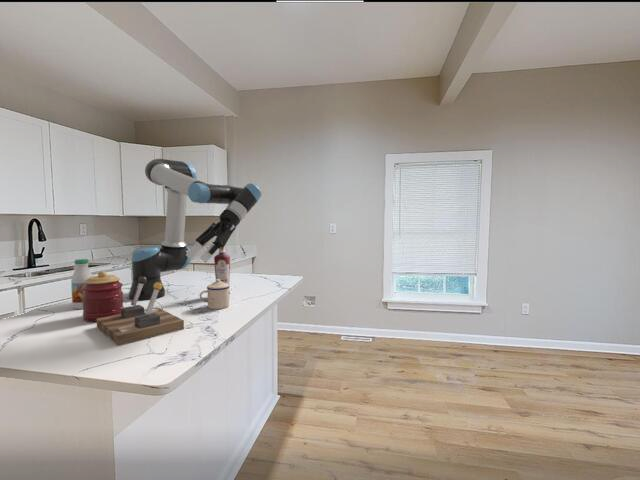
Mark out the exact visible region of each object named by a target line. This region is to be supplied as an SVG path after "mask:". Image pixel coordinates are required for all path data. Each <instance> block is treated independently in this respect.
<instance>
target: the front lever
mask: <svg viewBox="0 0 640 480" xmlns="http://www.w3.org/2000/svg"><path fill="white" fill-rule="evenodd" d="M162 284H163V282H162V283H160V282H156V283H155V284H154V285H153V288H154V291H153V294H152V297H151V299H149V301H148V305H147V307H146V309H147V310H146V313H147V314H151V311H152V309H153V308H154V306H155V303H156V300H157V299H158V298H157V295H158V292H159V290H161V289H162V287H164V285H162Z"/></svg>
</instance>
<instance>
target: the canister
mask: <svg viewBox="0 0 640 480" xmlns="http://www.w3.org/2000/svg"><path fill="white" fill-rule="evenodd" d="M120 280H121V278H120V277H118V276H116V275H113V274H107V272H106V271H105V270H100V271H98V273H97V275H94V276H93V277H89V278H88V279H87V280H85V281H84V283H86V284H85V286H83V287H82V288H81V289H82V290H83V296H82V299H83V309H82V317H83V320H84V321H86V322H91V323H92V322H93V323H95V322H96V323H97V320H96V319H98V318H103V317H108V316H113V315H118V314H121V308H124V301H123V300H124V297H123V295H124V292H123V291H122V287H123V283H121V281H120Z"/></svg>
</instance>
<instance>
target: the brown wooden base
mask: <svg viewBox="0 0 640 480" xmlns="http://www.w3.org/2000/svg"><path fill="white" fill-rule="evenodd" d="M146 310H147V308H145V307H144V306H142V305H140V304H136V306H133V305H130V306H125V307H124V306H123V308H121V314H118V315H113V316H108V317H103V318H98V319H96V320H97V322H96V328H97V329H98V330H99V331H101V332H102V333H103V334H104V335H105V336H106V337H107V338H108V339H110V341H112V342H113V343H114V344H116V345H117V346H118V347H119V346H122V345H126V344H130V343H134V342H137V341H138V342H139V341H142V340H145V339H149V338H154V337H157V336H161V335H165V334H169V333H172V332H173V333H174V332H177V331H181V330H184V329H185V321H184V319H182V318H180V317H178V316H176V315H174V314H172V313H170V312H168V311H166V310H164V309H162V308H159V307H158V306H156V307H154V306H153V309H152V311H151V314H147V313H146Z"/></svg>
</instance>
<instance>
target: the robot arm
mask: <svg viewBox="0 0 640 480" xmlns="http://www.w3.org/2000/svg"><path fill="white" fill-rule="evenodd" d="M144 174H145V176H146V179H147V180H149V182H150V183H152V184H155V185H157V186H164V189H165V191H167V202H166V215H165V216H166V219H165V235H164V241H162V242H161V245H160V246H161V247H160V246H159V245H149V246H142V247H141V246H140V247H138V248H134V250H133V251H132V252H131V259H130V260H131V269H132V270H131V272H132V283H131V286H130V289H129V292H128V298H129V300H133V298H134V295H135V292H136V290H137V287H138V284H139V282H138V279H139V278H140V277H142V276H144V277H146V278H147V282H146V283H145V284H144V285H143V287H142V290H141V292H140V295H139V298H138V300H137V301H145V300H150V299H151V297H152V294H153V291H154V288H153V285H154V284H155V283H156V282H160V283H162V285H163V282H162V280H161V278H162V277H161V273H165V272H170V271H171V272H172V271H179V270H183V269H186V268H187V267H188V266H189V265H190V263H191V261H192V260H193V259H194V258H195V257H196V255H197V254H198V253H199V252H200V251H201V250H202V249H203V248H204V247H205V246H204V245H205V244H207V243H209V241H211V240H212V239H214V238H215V240H214V241H212V242H211V244H210V245H209V246H208V248H207V249H206V250H205V251H204V252H203V253H202V255H201V256H200V257H199V259H201V261H203V263H205V264H206V263H207V262H208V261H209V260H210V259H211V258H212V256H214V254H215V253H216V252H217V251H218V250H219V248H220V247H222V248H223V247H224V246H225V247H226V244H227V243H228V242H229V239H230V238H231V236H232V235H233V233H234V232H235V230H237V229H236V228H237V227H238V225H239V224H240V222H241V221H242V220H243V219H245V217H246V216H247V214H248V213H250V211H251V210H252V209H253V208H254V206H255V205H256V203H258V201H259V200H260V198H261V197H262V191H261V189H260V188H259V187H258V185H256V184H254V183H251V182H250V183H247V184H246V185H244V187H237V186H234V185H233V186H231V185H227V184H221V185H220V184H212V183H206V182H203V181H201V180H198V179H197V172H196V169H195V168H194V166H193V165H192V164H191V163H188V162H185V161H179V160H171V159H165V158H155V159H151V160H150V161H149V162H148V163H147V164H146V166H145V168H144ZM187 197H188V198H189V200H190V202H192V203H197V204H214V205H215V204H217V205H218V204H219V205H220V204H221V205H227V206H226V208H225V209H224V210H223V211H222V212H221V213H220V214H219V221H218V222H217V223H215V222H213V223H211V225H210V226H209V227H208V228H207V229H206V230H205V231H203V232H202V233H201V234H200V235H199V236H198V237H196V239H195V241H196V243H195V244H194V245H193V246H192V248H191V249H190V248H189V246H187V245H188V244H187V243H186V242H185V230H186V229H185V228H186V227H185V225H186V211H187ZM222 242H223V243H222ZM165 295H166V289H165V287H164V285H163V287H162V289H161V290H159V292H158V295H157V298H156V299H158V298H159V299H160V298H162V297H165Z"/></svg>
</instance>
